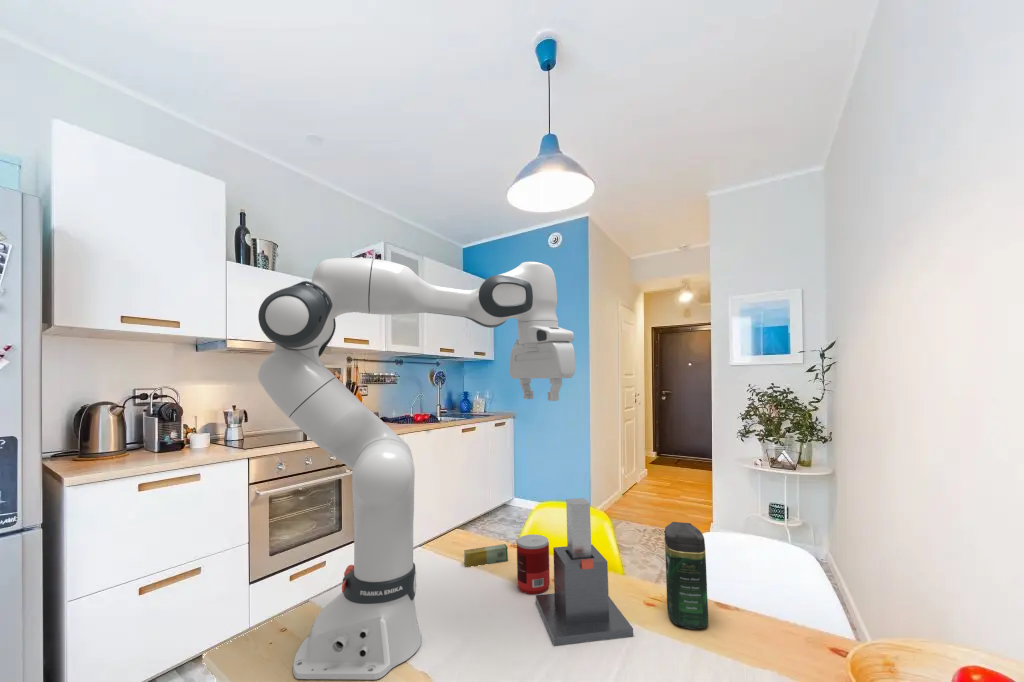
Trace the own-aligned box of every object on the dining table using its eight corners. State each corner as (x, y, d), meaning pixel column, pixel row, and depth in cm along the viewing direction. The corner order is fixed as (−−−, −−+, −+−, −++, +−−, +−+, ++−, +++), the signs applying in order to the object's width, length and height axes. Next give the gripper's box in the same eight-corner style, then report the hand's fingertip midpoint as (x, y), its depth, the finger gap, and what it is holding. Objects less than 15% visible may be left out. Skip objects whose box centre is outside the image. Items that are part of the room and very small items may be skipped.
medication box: (505, 558, 121) (505, 543, 121) (508, 561, 118) (508, 546, 118) (463, 564, 117) (463, 549, 117) (465, 568, 114) (465, 552, 115)
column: (574, 614, 88) (571, 504, 90) (567, 603, 92) (565, 498, 94) (594, 612, 88) (590, 503, 90) (587, 601, 93) (584, 497, 94)
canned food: (555, 583, 105) (554, 537, 106) (539, 598, 98) (538, 548, 99) (528, 576, 109) (527, 531, 110) (511, 589, 102) (510, 542, 103)
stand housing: (553, 645, 81) (552, 570, 82) (535, 602, 97) (534, 539, 98) (633, 636, 83) (630, 563, 85) (603, 595, 99) (601, 533, 100)
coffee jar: (713, 633, 84) (708, 536, 85) (670, 628, 86) (666, 533, 87) (703, 607, 93) (699, 520, 95) (665, 603, 95) (661, 517, 97)
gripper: (502, 339, 101) (503, 398, 100) (554, 331, 83) (556, 402, 82) (524, 340, 104) (526, 397, 103) (579, 332, 87) (581, 400, 85)
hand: (540, 399), depth 92 cm, fingers open, 8 cm apart
